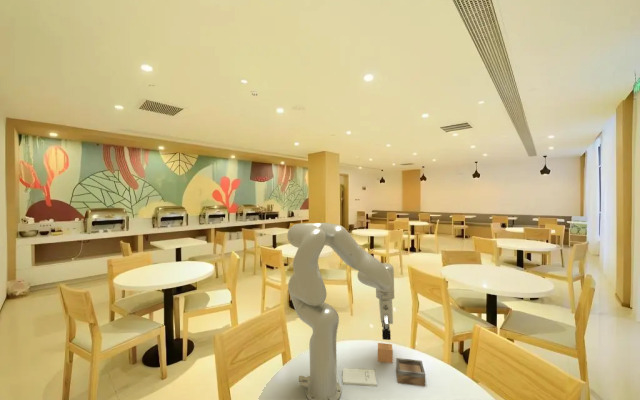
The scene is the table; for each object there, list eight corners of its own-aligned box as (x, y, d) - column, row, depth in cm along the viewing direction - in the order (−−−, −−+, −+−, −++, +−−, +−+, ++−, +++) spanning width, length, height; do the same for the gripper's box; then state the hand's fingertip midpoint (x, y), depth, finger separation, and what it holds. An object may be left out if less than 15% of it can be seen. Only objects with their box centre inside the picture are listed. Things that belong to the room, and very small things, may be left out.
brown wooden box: (397, 382, 101) (397, 370, 101) (396, 368, 109) (396, 357, 109) (425, 386, 99) (425, 374, 99) (421, 371, 107) (421, 360, 107)
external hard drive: (342, 371, 109) (374, 373, 108) (342, 386, 101) (376, 387, 100) (342, 367, 109) (374, 369, 108) (342, 381, 101) (376, 383, 99)
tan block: (377, 361, 114) (377, 348, 114) (377, 355, 119) (377, 342, 118) (392, 363, 113) (392, 350, 113) (392, 356, 117) (392, 344, 117)
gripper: (395, 302, 106) (396, 345, 107) (393, 286, 123) (393, 323, 124) (375, 301, 107) (377, 343, 108) (376, 285, 124) (377, 322, 125)
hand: (386, 333), depth 116 cm, fingers open, 9 cm apart
